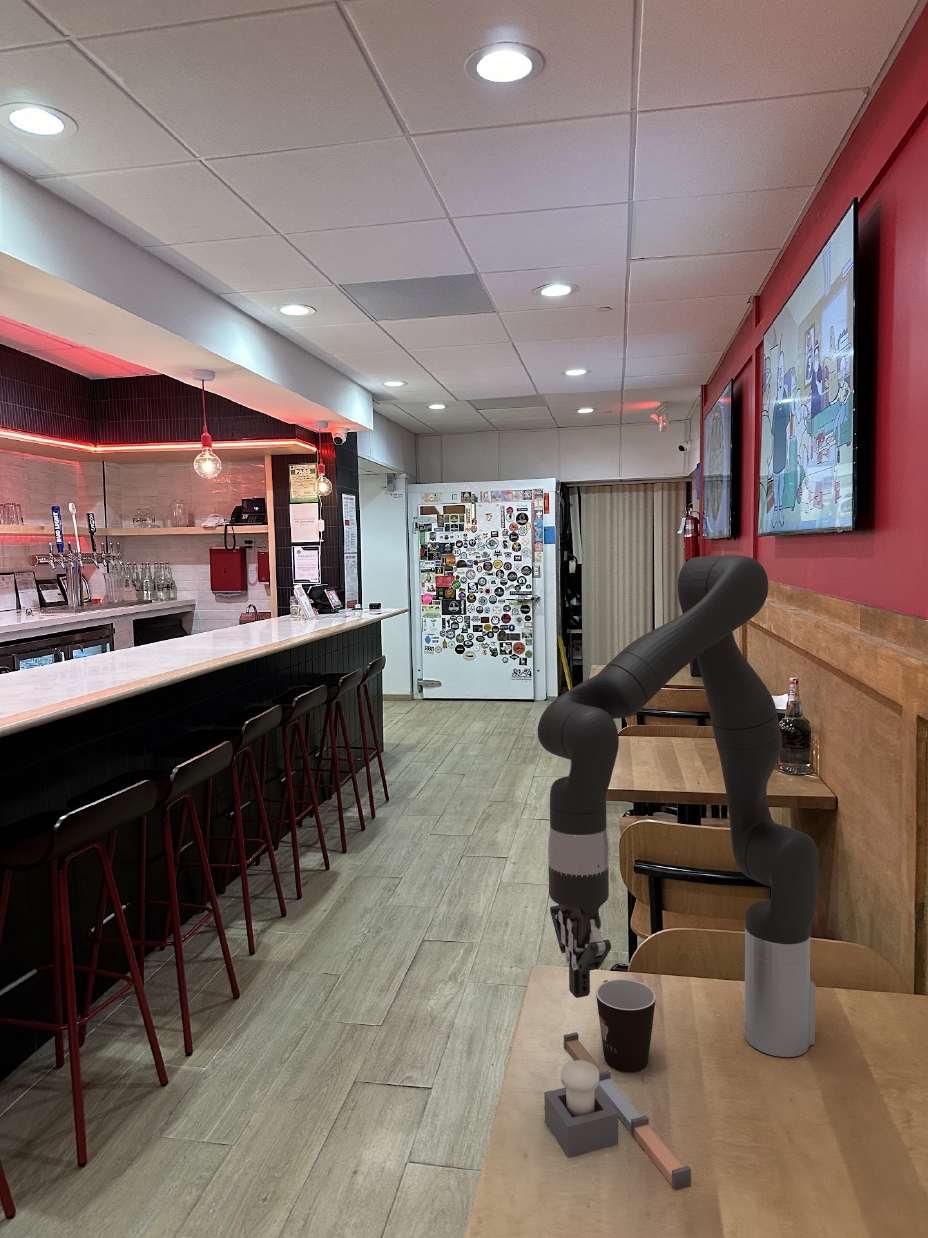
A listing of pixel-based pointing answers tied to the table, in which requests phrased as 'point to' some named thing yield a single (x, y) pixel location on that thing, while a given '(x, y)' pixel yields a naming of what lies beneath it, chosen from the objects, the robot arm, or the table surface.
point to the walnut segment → (578, 1050)
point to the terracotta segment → (660, 1153)
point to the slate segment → (617, 1099)
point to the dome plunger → (580, 1086)
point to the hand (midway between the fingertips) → (579, 994)
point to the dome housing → (581, 1124)
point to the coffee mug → (626, 1023)
